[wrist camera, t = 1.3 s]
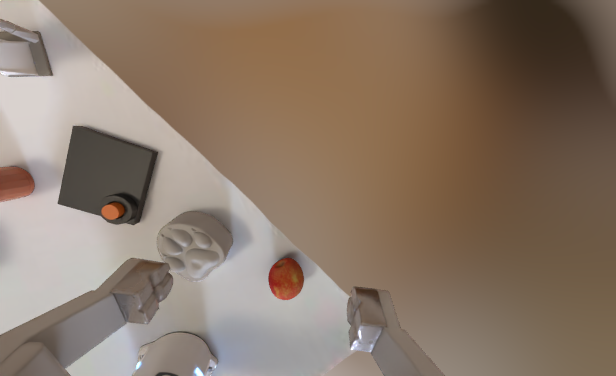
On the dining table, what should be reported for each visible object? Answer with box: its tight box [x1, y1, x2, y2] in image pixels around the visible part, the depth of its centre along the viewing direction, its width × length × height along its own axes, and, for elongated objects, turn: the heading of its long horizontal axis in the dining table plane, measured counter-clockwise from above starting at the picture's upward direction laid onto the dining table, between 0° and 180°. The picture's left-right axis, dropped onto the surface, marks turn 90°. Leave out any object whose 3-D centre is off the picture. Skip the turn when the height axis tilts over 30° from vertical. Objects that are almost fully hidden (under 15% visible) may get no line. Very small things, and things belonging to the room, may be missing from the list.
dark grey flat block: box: [58, 126, 158, 225], centre depth 43 cm, size 16×14×4 cm
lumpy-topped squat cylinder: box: [157, 211, 233, 282], centre depth 45 cm, size 10×13×9 cm
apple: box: [268, 258, 304, 300], centre depth 50 cm, size 8×8×8 cm
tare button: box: [102, 202, 125, 220], centre depth 42 cm, size 3×3×2 cm
